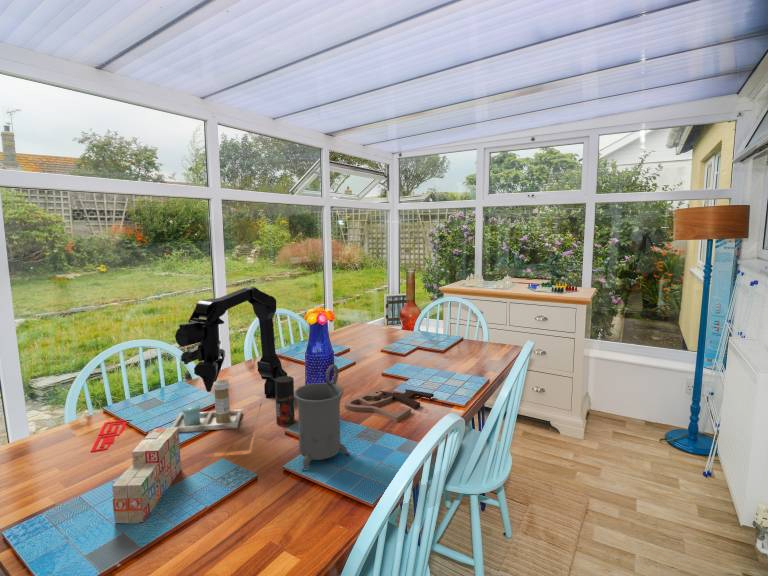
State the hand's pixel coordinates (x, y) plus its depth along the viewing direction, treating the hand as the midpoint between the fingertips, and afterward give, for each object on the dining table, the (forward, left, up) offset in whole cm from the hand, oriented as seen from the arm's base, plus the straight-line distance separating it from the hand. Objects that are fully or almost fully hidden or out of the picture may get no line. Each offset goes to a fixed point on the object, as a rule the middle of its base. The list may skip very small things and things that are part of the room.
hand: (211, 386), depth 139 cm
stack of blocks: (+8, +36, -14) cm, 39 cm away
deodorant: (-23, +2, -14) cm, 27 cm away
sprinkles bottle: (-3, -1, -13) cm, 13 cm away
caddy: (+2, 0, -13) cm, 14 cm away
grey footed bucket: (-34, +25, -14) cm, 44 cm away
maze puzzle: (+24, 0, -14) cm, 28 cm away
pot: (+7, 0, -12) cm, 14 cm away
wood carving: (-60, -8, -14) cm, 62 cm away
